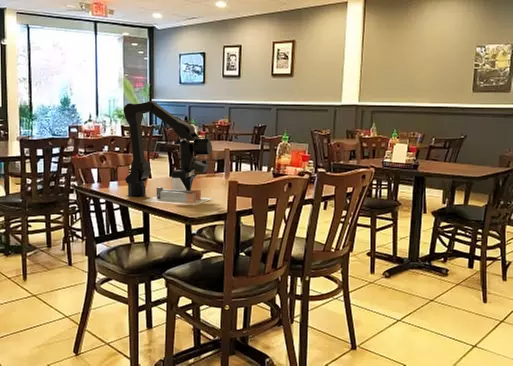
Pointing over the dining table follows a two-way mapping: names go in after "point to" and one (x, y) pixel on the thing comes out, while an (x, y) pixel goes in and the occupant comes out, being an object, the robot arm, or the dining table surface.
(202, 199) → the cutting board
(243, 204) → the dining table surface
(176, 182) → the white cup
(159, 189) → the tong leg
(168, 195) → the tong fixed leg
